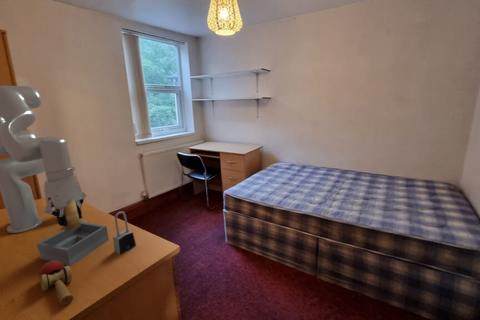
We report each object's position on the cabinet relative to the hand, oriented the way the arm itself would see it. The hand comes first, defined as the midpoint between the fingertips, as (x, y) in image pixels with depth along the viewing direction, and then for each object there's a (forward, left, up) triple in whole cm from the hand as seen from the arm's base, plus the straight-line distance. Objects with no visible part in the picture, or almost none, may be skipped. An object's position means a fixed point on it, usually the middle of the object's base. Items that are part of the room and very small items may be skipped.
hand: (71, 221), depth 86 cm
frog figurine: (-17, +12, -12) cm, 24 cm away
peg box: (0, 0, -12) cm, 12 cm away
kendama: (+13, -16, -12) cm, 24 cm away
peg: (0, 0, -2) cm, 2 cm away
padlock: (+18, +5, -12) cm, 22 cm away
